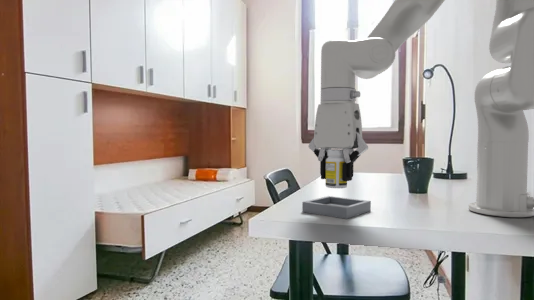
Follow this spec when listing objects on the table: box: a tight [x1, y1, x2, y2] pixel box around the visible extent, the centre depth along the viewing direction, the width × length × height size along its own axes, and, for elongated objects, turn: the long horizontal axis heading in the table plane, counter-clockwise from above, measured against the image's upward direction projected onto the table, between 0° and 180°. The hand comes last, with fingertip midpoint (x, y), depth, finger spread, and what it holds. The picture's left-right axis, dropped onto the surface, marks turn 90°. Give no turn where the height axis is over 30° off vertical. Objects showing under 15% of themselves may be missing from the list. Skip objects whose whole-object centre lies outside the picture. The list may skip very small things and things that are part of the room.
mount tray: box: [301, 195, 372, 220], centre depth 85 cm, size 11×11×2 cm
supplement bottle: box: [325, 149, 348, 189], centre depth 85 cm, size 5×5×8 cm
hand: (336, 178), depth 85 cm, fingers closed on supplement bottle, 4 cm apart
